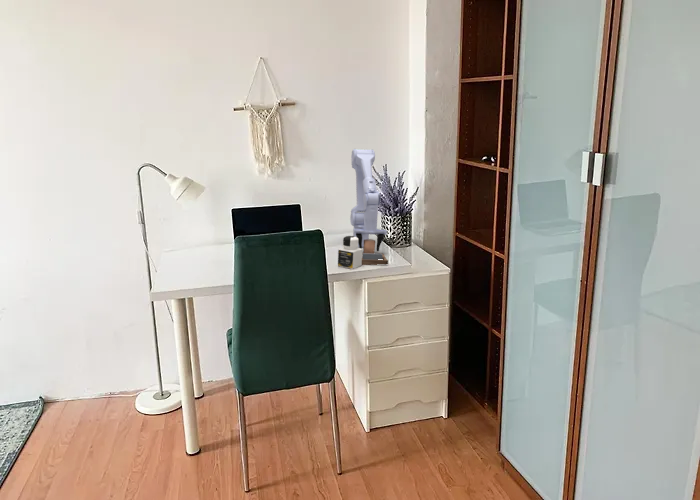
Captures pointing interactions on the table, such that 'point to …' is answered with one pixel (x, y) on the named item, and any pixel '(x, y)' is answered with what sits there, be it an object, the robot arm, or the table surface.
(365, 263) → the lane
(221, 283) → the table surface
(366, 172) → the robot arm
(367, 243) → the terracotta jar
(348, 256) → the medicine bottle
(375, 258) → the plate
